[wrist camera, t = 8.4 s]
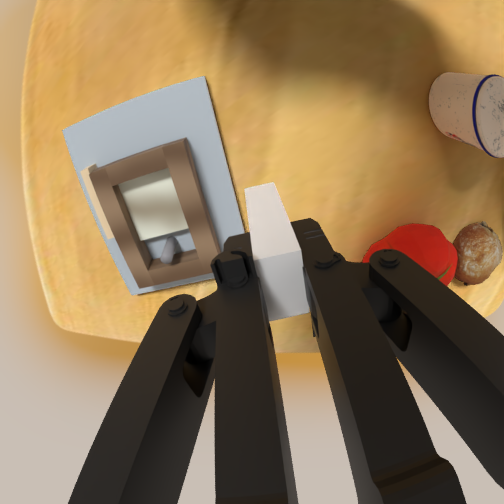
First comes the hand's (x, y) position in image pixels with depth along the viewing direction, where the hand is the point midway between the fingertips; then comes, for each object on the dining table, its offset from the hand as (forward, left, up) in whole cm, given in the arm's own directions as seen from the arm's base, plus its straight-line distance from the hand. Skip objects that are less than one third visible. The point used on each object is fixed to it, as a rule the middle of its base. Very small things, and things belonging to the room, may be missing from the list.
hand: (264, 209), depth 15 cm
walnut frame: (+4, -10, -15) cm, 18 cm away
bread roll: (+20, +32, -17) cm, 41 cm away
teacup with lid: (-2, +28, -16) cm, 32 cm away
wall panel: (+2, -10, -16) cm, 19 cm away
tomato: (+18, +17, -16) cm, 29 cm away
